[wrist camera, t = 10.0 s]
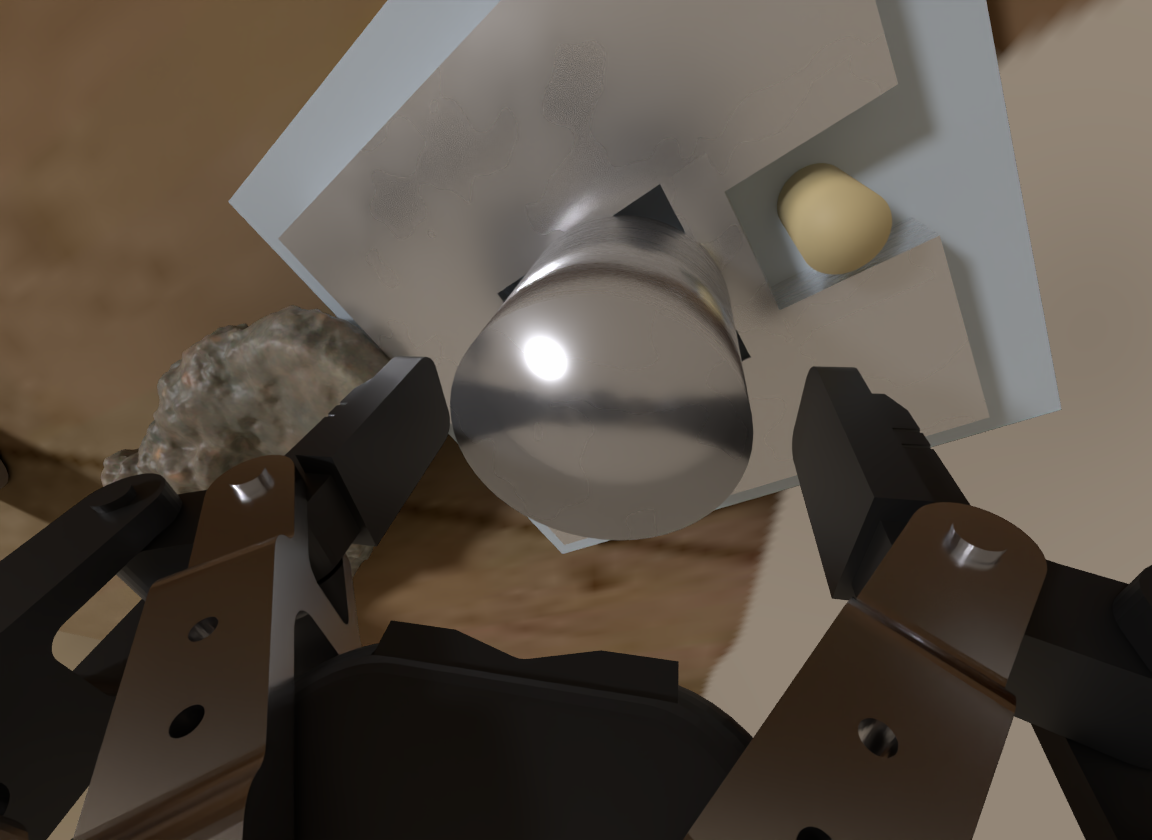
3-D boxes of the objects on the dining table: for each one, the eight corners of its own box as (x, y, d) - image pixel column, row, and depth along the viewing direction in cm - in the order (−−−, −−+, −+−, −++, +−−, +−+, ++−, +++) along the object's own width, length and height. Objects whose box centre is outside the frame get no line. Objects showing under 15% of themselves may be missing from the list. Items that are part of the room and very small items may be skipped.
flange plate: (572, 515, 20) (531, 670, 15) (313, 223, 14) (101, 312, 9) (961, 384, 13) (1133, 582, 8) (773, -249, 8) (948, -887, 3)
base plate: (568, 528, 23) (547, 612, 19) (263, 191, 16) (138, 227, 12) (1030, 382, 15) (1142, 482, 11) (843, -502, 7) (993, -1052, 4)
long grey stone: (181, 565, 36) (303, 619, 39) (120, 632, 33) (259, 687, 35) (215, 203, 14) (498, 393, 16) (27, 286, 10) (433, 515, 13)
